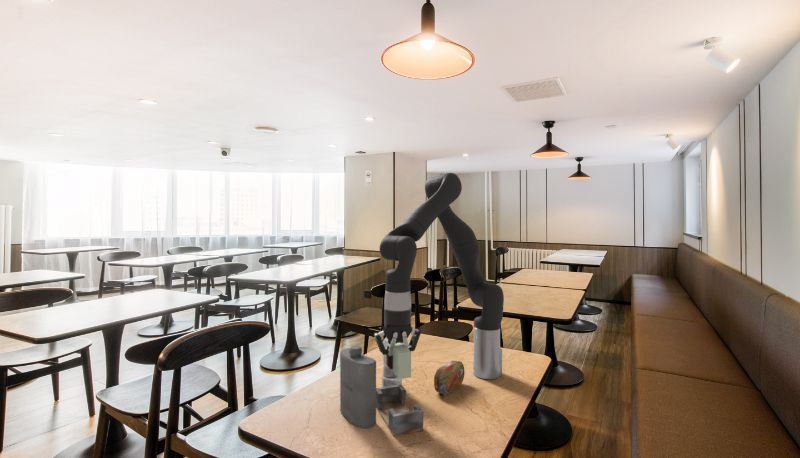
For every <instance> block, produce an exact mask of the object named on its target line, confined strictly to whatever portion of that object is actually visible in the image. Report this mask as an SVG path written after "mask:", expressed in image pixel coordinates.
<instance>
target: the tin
mask: <svg viewBox="0 0 800 458" xmlns="http://www.w3.org/2000/svg"><path fill="white" fill-rule="evenodd" d="M433 376H434V377H433V386H434V390H435V392H436V393H438V394H440V395H443V396H446V395H448V394H450V393H452V392H453V391H454V390H456V389H458V388H460V387H461V385H462V383H463V381H464V378H465V365H464V364H463V362H461V361H460V360H459V361H458V360H451V361H449V362H447V363H446V364H444V365H442V366H440V367H439V368H437V370H436V372H435V374H434V375H433Z"/></svg>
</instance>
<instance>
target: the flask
mask: <svg viewBox="0 0 800 458" xmlns="http://www.w3.org/2000/svg"><path fill="white" fill-rule="evenodd" d="M362 353H363V348H362V347H361V346H359V345H352V346H351V347H349V348H348V347H347V348H344V349H341V350H340V351H339V366H340V367H339V369H340V370H339V373H340V374H339V375H340V376H339V377H340V380H339V381H340V382H339V383H340V384H339V385H340V386H339V387H340V388H339V391H340V393H339V395H340V397H339V401H340V402H339V403H340V405H339V408H340V413H341V415H343V416H344V418H345V419H346V420H348V421H349V422H350V423H351V424H353V425H355V426H357V427H358V428H361V429H371V428H373V427H375V426H376V424H377V408H376V388H377V360H375V359H374V358H372V357H370V356H367V355H365V354H362Z"/></svg>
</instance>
